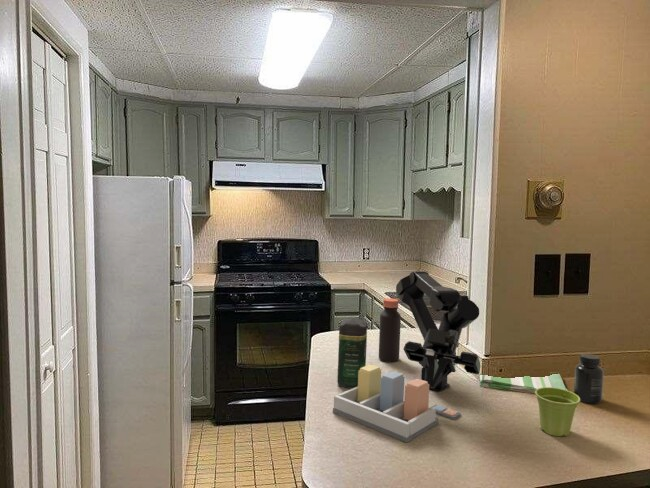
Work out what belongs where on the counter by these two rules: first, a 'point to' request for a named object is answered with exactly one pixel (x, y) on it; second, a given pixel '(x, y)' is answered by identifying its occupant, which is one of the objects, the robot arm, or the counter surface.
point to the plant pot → (556, 410)
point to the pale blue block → (391, 390)
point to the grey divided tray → (383, 416)
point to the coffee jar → (351, 351)
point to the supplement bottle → (589, 379)
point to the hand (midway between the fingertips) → (431, 387)
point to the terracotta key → (416, 398)
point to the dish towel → (522, 383)
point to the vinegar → (389, 331)
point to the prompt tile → (446, 412)
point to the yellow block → (368, 382)
